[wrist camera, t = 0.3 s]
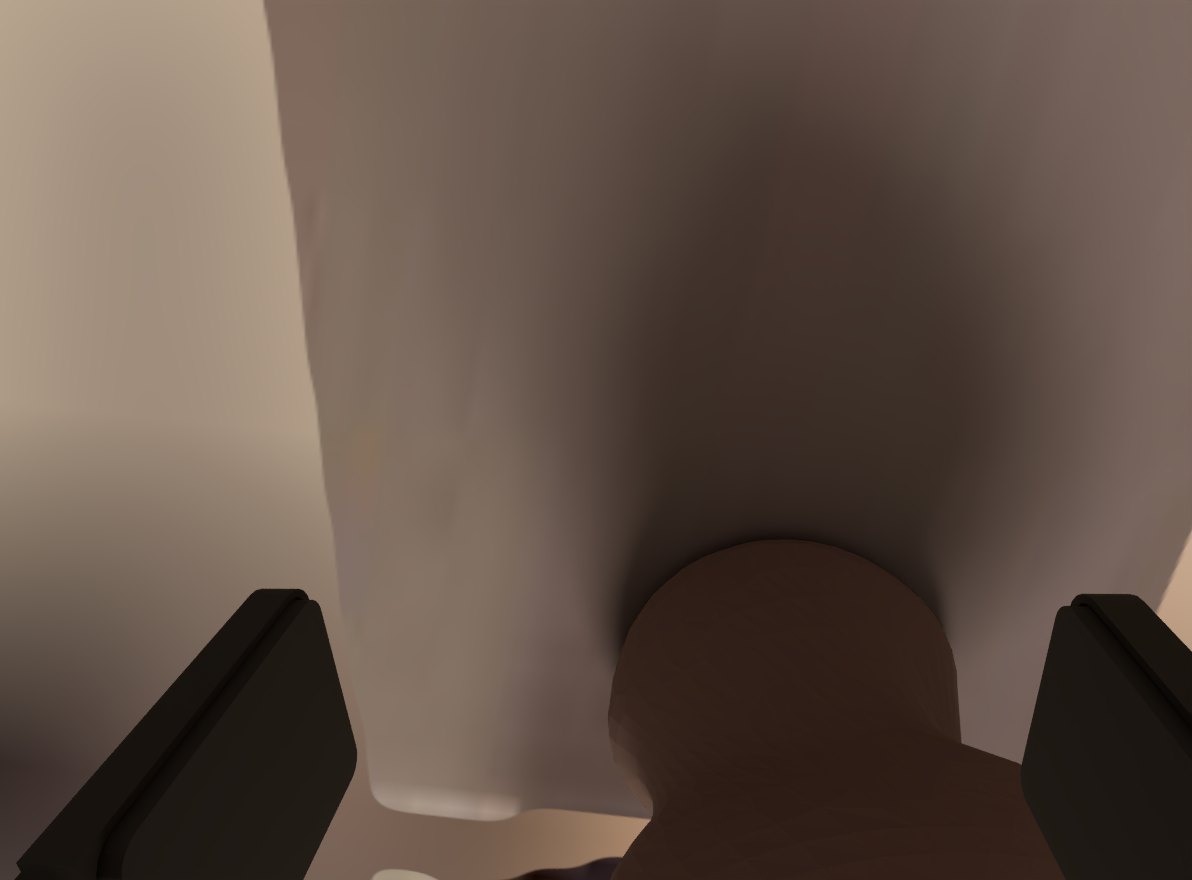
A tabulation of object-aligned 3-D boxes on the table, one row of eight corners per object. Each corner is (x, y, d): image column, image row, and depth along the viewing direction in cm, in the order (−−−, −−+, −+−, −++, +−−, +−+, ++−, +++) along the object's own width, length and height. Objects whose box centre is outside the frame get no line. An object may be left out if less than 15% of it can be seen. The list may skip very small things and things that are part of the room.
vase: (584, 777, 61) (509, 1317, 34) (651, 495, 50) (622, 959, 22) (907, 846, 61) (1097, 1450, 33) (1048, 576, 49) (1510, 1152, 22)
